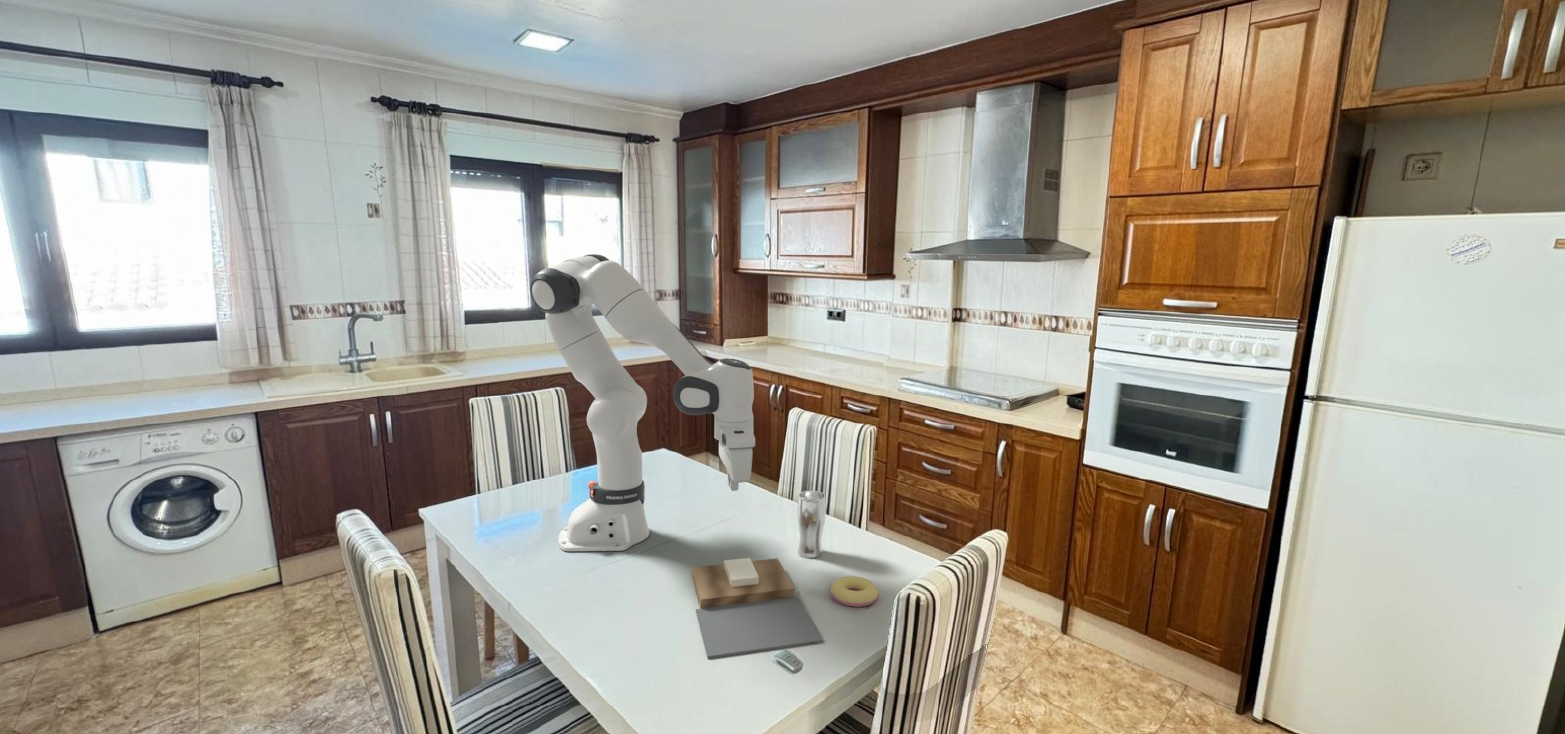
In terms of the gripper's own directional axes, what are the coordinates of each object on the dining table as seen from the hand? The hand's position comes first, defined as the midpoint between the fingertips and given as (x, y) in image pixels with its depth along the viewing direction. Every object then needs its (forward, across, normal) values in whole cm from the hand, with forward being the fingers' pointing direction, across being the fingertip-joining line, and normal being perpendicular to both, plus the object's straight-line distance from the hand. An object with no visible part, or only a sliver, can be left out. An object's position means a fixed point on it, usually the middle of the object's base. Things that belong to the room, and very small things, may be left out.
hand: (733, 487), depth 146 cm
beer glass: (+19, -2, +20) cm, 28 cm away
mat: (+19, +26, 0) cm, 32 cm away
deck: (+19, +11, 0) cm, 22 cm away
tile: (+17, +10, 0) cm, 19 cm away
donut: (+20, +20, +23) cm, 36 cm away
